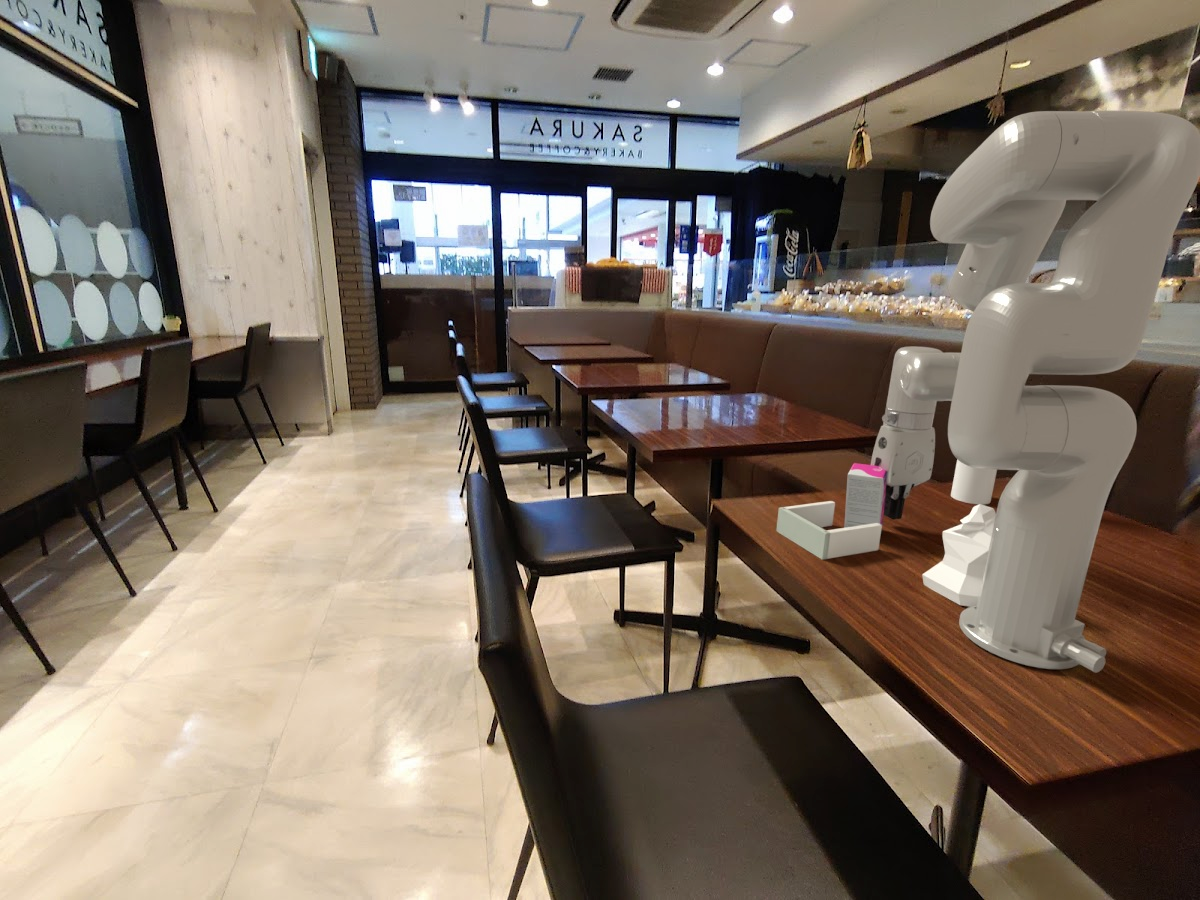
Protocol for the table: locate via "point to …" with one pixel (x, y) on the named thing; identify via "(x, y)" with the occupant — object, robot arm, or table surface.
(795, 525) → the box
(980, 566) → the soft serve ice cream
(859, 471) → the supplement box
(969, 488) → the cylindrical container
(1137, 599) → the table surface
